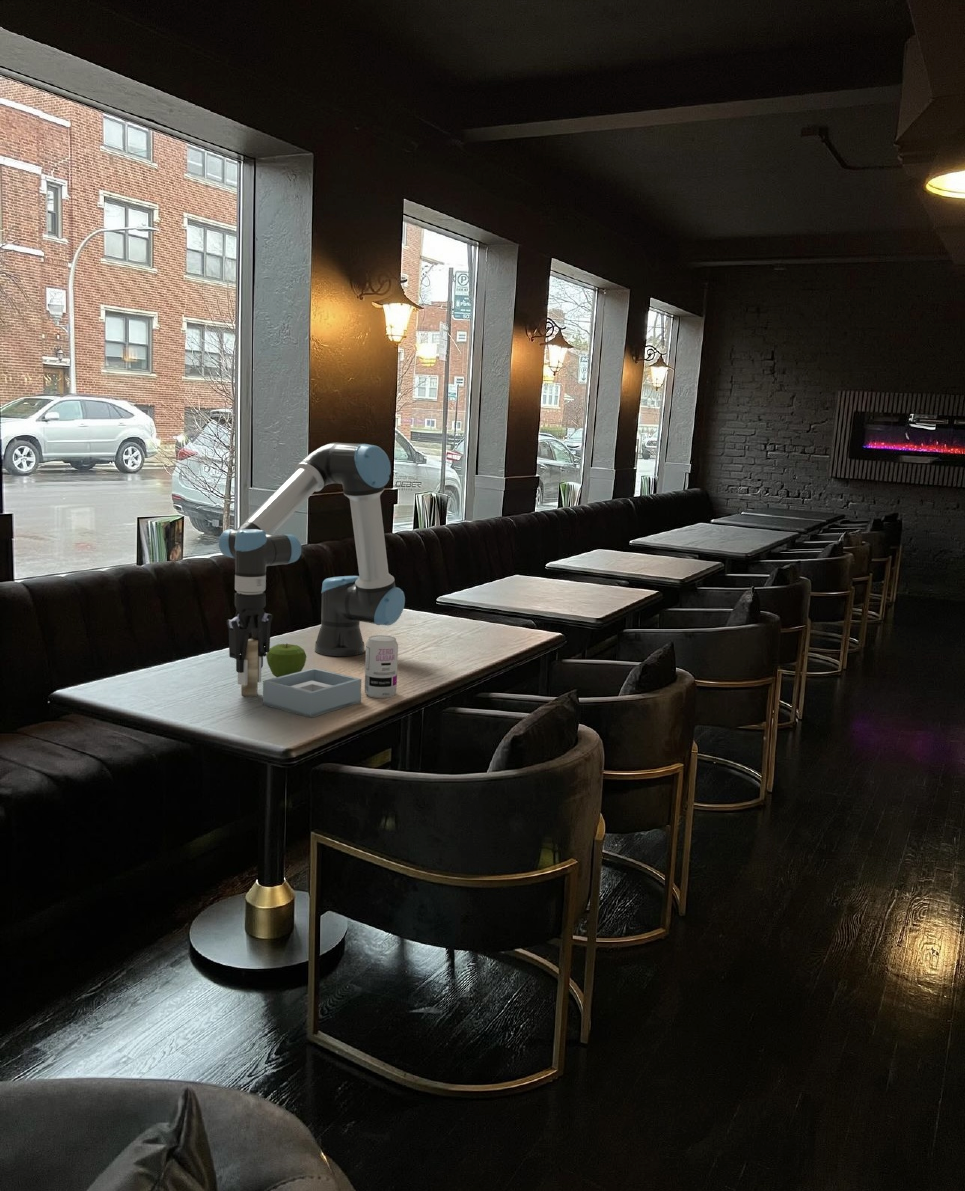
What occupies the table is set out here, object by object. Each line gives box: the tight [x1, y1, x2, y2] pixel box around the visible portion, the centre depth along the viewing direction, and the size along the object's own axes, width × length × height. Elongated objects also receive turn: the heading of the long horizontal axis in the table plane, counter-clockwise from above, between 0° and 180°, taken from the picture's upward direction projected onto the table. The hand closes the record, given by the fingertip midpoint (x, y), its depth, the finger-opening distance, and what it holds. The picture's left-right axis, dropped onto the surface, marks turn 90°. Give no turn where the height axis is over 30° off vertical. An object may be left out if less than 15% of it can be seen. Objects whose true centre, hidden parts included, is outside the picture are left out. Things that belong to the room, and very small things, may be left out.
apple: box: [265, 643, 307, 678], centre depth 260 cm, size 11×10×10 cm
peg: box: [240, 638, 259, 697], centre depth 244 cm, size 4×4×14 cm
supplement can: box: [364, 634, 399, 699], centre depth 250 cm, size 8×8×15 cm
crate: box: [262, 667, 362, 718], centre depth 239 cm, size 16×18×6 cm
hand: (249, 682), depth 244 cm, fingers closed on peg, 4 cm apart
